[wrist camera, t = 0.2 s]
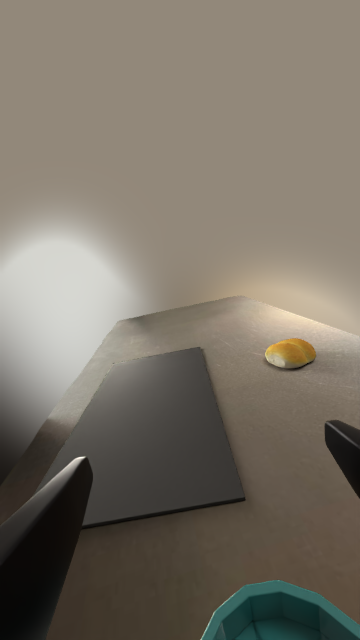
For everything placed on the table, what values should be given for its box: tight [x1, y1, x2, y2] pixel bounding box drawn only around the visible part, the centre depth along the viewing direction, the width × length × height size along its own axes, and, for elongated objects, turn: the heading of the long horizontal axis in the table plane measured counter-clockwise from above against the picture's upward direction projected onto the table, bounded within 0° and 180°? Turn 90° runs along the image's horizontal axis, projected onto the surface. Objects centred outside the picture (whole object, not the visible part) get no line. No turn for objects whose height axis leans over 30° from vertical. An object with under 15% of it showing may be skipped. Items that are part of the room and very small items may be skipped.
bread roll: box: [266, 338, 316, 369], centre depth 45 cm, size 8×9×4 cm
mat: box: [33, 347, 245, 529], centre depth 41 cm, size 40×24×1 cm, turn 1°
